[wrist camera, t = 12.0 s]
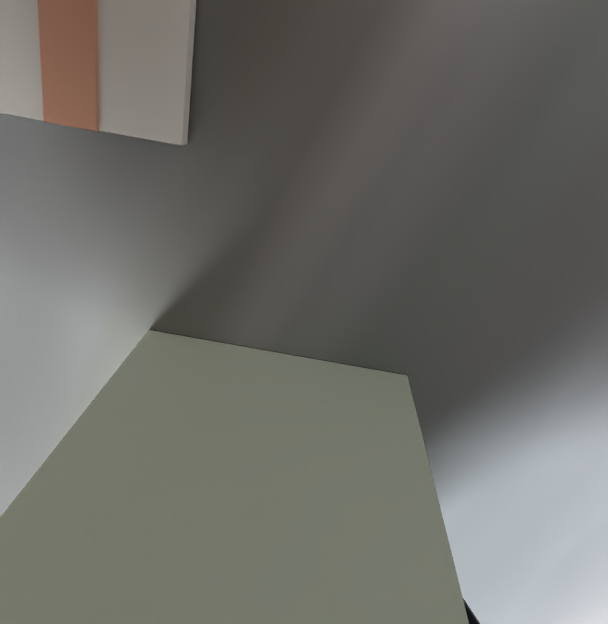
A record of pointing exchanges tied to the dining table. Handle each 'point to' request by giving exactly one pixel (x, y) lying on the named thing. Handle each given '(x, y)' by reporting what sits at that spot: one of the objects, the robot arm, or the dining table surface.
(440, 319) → the dining table surface
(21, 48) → the track board
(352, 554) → the sage block
